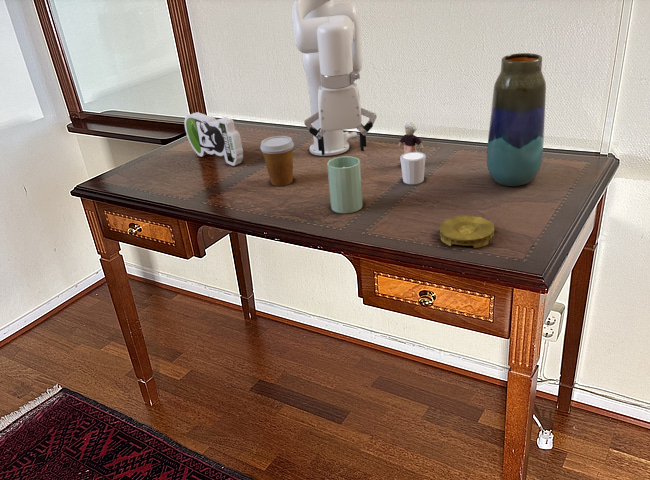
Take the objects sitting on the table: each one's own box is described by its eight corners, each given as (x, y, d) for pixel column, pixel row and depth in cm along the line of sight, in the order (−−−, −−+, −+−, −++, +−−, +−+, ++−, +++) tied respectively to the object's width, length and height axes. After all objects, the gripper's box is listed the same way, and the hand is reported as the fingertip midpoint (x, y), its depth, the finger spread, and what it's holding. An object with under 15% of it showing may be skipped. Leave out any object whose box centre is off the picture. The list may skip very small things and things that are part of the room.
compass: (434, 245, 141) (434, 237, 140) (445, 222, 150) (445, 214, 149) (489, 250, 137) (490, 241, 136) (497, 226, 146) (497, 217, 145)
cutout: (239, 121, 188) (188, 104, 202) (232, 124, 186) (181, 106, 201) (245, 168, 197) (195, 149, 211) (238, 171, 195) (188, 151, 209)
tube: (351, 197, 168) (348, 153, 161) (368, 206, 161) (366, 162, 155) (325, 205, 164) (321, 162, 158) (341, 216, 158) (338, 171, 152)
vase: (549, 176, 167) (563, 53, 150) (523, 195, 159) (535, 66, 142) (502, 167, 175) (509, 49, 158) (475, 184, 167) (480, 61, 150)
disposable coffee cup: (283, 172, 187) (277, 133, 180) (305, 179, 181) (300, 138, 174) (258, 183, 182) (252, 143, 175) (280, 190, 176) (274, 149, 169)
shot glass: (429, 176, 174) (429, 152, 171) (421, 186, 169) (421, 161, 166) (405, 174, 177) (404, 150, 173) (397, 184, 172) (396, 159, 168)
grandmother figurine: (396, 167, 182) (394, 124, 175) (399, 162, 185) (398, 120, 178) (422, 169, 179) (422, 125, 173) (425, 164, 182) (425, 120, 176)
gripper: (373, 72, 149) (376, 143, 158) (300, 79, 149) (307, 149, 159) (376, 80, 142) (379, 153, 152) (299, 88, 143) (307, 160, 152)
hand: (342, 151), depth 155 cm, fingers open, 9 cm apart
